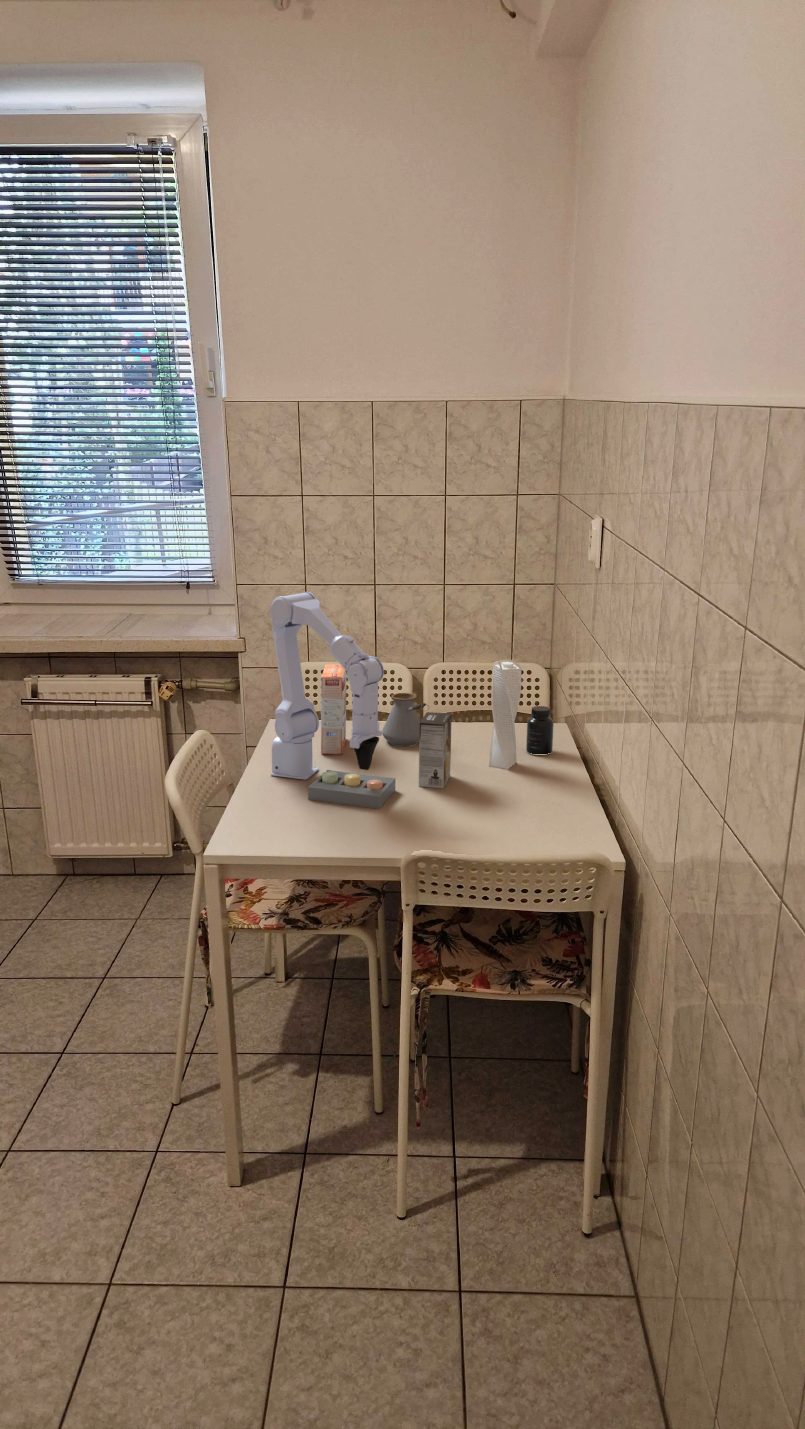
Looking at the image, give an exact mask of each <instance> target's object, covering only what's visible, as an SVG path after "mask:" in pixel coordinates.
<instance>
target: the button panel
mask: <svg viewBox="0 0 805 1429" xmlns="http://www.w3.org/2000/svg"><path fill="white" fill-rule="evenodd" d="M326 771H332V770H329V769H327V770H326ZM333 771H334V772H337V773H338V782H337V783H336V784H330V783H322V774H321V775H320V776H319V777H318V778H316V779H315V780H314V781H313V782H312V783H311V784H309V785H308V787H307V800H310V801H318V802H326V803H331V804H340V805H348V806H355V807H361V808H363V807H364V808H371V809H378V810H380V808H381V807H382V806H383V805H384V804H385V803H386V802H387V801H388V799H389V798H390V797H391V796H392V795H393V794H394V792H395V791H396V777H389V776H387V777H386V776H379V775H372V774H362V773H355V772H354V773H353V772H346V771H341V770H340V771H339V770H338V771H337V770H333ZM347 774H357V775H360V786H359V787H353V786H346V785H345V784H344V776H345V775H347ZM369 780H381V781H382V782H383V788H382V789H381V790H377V789H369V788H367V781H369Z"/></svg>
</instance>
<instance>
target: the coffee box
mask: <svg viewBox="0 0 805 1429" xmlns="http://www.w3.org/2000/svg"><path fill="white" fill-rule="evenodd" d="M452 716H453V713H451V712H450V713H449V712H446V713H445V712H434V711H433V712H431V711H425V714H424V715H423V717H422V719H420V721H421V722H420V734H419V741H418V744H419V745H418V787H422V788H433V789H434V788H435V789H445V787H446V785H447V783H448V781H449V779H450V776H451V754H452V752H451V751H452Z"/></svg>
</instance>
